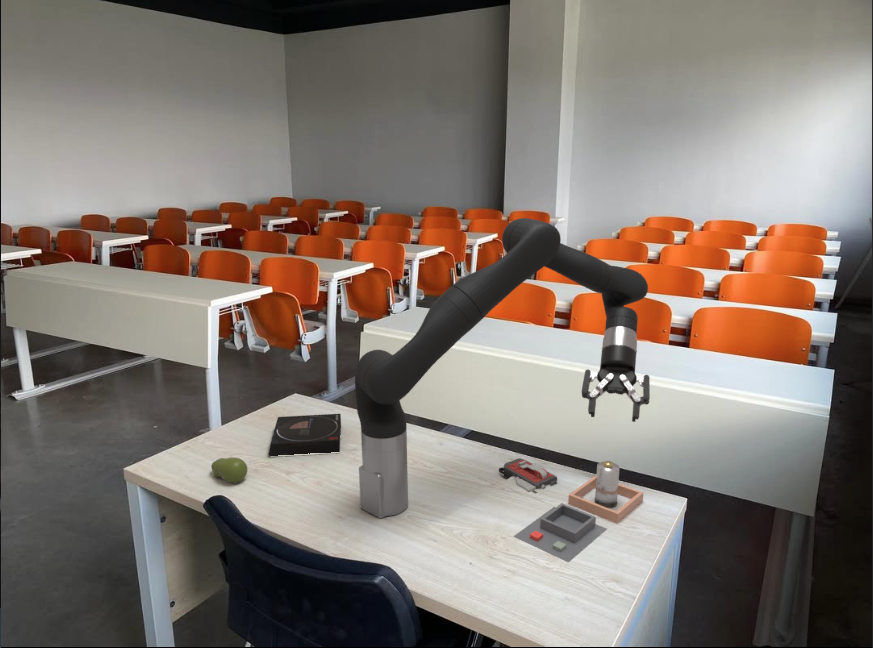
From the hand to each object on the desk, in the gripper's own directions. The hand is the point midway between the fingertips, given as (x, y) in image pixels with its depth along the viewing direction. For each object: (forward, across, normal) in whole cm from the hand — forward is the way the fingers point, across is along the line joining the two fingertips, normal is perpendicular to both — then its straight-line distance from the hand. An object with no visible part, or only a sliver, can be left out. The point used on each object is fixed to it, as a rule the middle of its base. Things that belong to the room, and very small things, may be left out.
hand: (613, 418), depth 142 cm
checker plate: (+28, -8, -5) cm, 29 cm away
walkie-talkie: (+16, -15, +8) cm, 23 cm away
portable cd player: (+11, -75, +13) cm, 77 cm away
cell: (+18, 0, +4) cm, 18 cm away
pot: (+18, 0, +4) cm, 19 cm away
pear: (+26, -83, -3) cm, 87 cm away
